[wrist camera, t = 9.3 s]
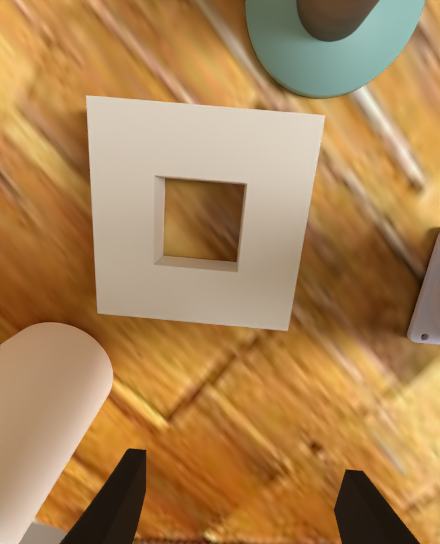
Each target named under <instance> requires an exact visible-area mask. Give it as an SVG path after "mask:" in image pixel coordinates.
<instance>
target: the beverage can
mask: <svg viewBox="0 0 440 544" xmlns="http://www.w3.org/2000/svg"><path fill="white" fill-rule="evenodd" d="M112 384H113V369H112V365H111V362H110V359H109V357H108V355H107V353H106V352H105V350H104V349H103V348H102V346H101V345H100V344H99V343H98V342H97V341H96V340H95V339H94V338H93V337H91V336H90V335H89V334H87V333H86V332H84V331H82V330H80V329H78V328H76V327H74V326H71V325H67V324H63V323H56V322H45V323H38V324H34V325H31V326H29V327H27V328H25V329H23V330H22V331H20V332H19V333H17V334H16V335H14V336H13V337H11V338H10V339H8V340H6V341H5V342H3V343H2V344H0V544H19V542H20V540H21V539H22V537H23V535H24V534H25V532H26V530H27V529H28V527H29V525H30V524H31V522H32V520H33V519H34V517H35V516H36V514H37V512H38V511H39V509H40V507H41V506H42V504H43V502H44V501H45V499H46V497H47V496H48V494H49V492H50V491H51V489H52V487H53V486H54V484H55V482H56V481H57V479H58V477H59V476H60V474H61V472H62V471H63V469H64V467H65V466H66V464H67V463H68V461H69V459H70V458H71V456H72V454H73V453H74V451H75V449H76V448H77V446H78V444H79V443H80V441H81V439H82V438H83V436H84V434H85V433H86V431H87V429H88V428H89V426H90V424H91V423H92V421H93V419H94V418H95V416H96V414H97V413H98V411H99V410H100V408H101V406H102V405H103V403H104V401H105V400H106V398H107V396H108V394H109V393H110V390H111V388H112Z"/></svg>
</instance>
